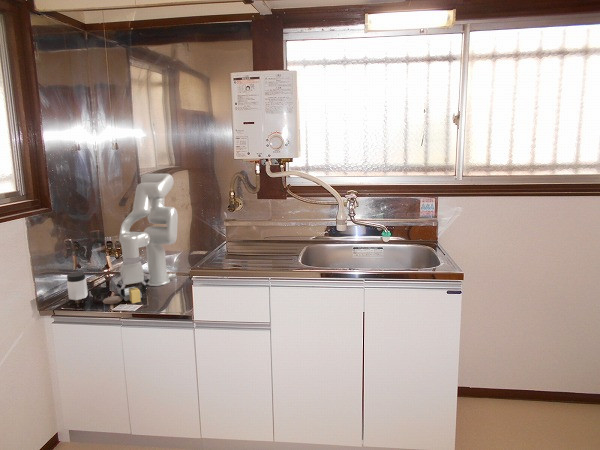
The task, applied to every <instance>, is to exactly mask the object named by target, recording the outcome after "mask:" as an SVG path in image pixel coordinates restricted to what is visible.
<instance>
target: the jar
mask: <svg viewBox="0 0 600 450" xmlns="http://www.w3.org/2000/svg"><path fill="white" fill-rule="evenodd" d="M66 280H67V281H66V286H67V295H68V300H72V301H79V300H82V299H86V298H87V296H88V295H89V292H88V285H87V278H86V274H85V272H83V271H79V272H78V271H77V272H71V273H69V274H67V275H66Z"/></svg>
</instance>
